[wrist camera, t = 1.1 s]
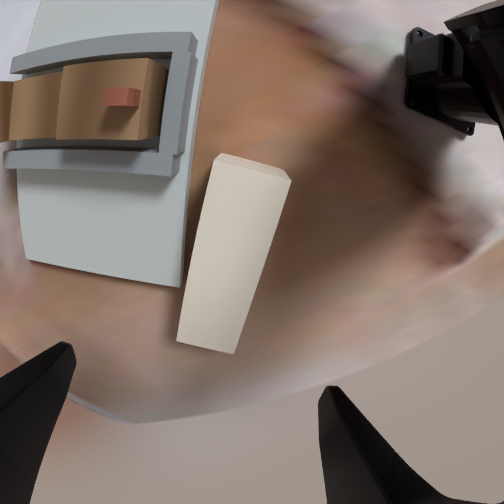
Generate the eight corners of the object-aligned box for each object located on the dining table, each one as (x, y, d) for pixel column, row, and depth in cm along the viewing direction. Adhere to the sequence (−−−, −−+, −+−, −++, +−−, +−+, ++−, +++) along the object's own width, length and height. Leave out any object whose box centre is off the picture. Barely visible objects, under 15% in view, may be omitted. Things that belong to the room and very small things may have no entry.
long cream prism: (283, 169, 18) (291, 181, 14) (235, 319, 23) (233, 354, 19) (221, 152, 18) (213, 160, 14) (186, 307, 22) (176, 341, 19)
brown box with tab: (170, 71, 14) (137, 51, 9) (162, 135, 16) (124, 142, 11) (22, 85, 13) (-30, 86, 8) (18, 137, 15) (-34, 149, 10)
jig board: (226, -27, 12) (221, -50, 9) (183, 279, 21) (173, 303, 18) (51, -4, 11) (28, -13, 8) (33, 252, 20) (12, 269, 17)
